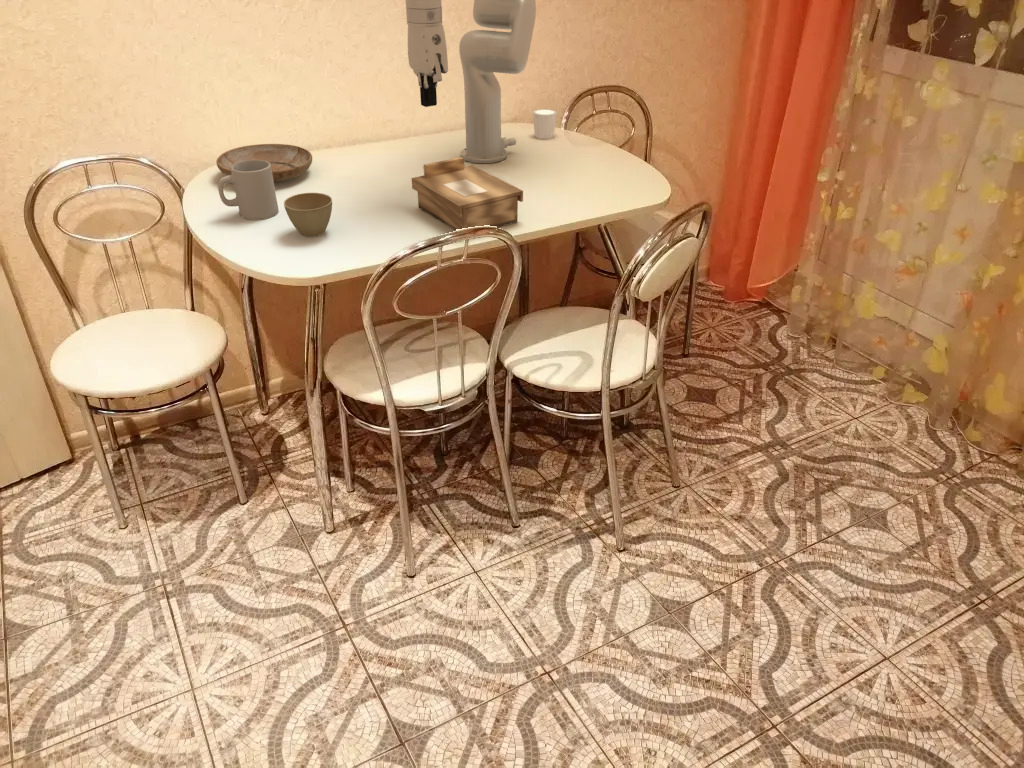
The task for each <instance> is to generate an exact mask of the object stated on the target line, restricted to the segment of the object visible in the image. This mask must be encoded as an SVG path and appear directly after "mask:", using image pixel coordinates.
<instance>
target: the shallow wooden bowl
mask: <svg viewBox="0 0 1024 768" xmlns="http://www.w3.org/2000/svg"><path fill="white" fill-rule="evenodd" d="M246 160H264V161H267V162H269V163H270V165H271V170H272V176H273V182H274V184H275V183H279V182H284V181H288V180H291V179H294V178H297V177H298V176H301V175H303V174H304V173H306V171H307V170H309V168H310V167H311V165H312V163H313V154H312V152H310V150H308V149H306V148H303V147H302V146H299V145H298V146H297V145H293V144H285V143H261V144H251V145H250V144H249V145H243V146H238V147H235V148H232V149H230V150H227V151H225V152H223V153H221V154H220V155H219V156H218V157H216V161H215V162H216V166H217V169H218V170H219V171H220V172H221V173H222V174H223V175H224V176H228V175H231V174H232V172H231V167H232V165H234V164H235V163H238V162H241V161H246Z"/></svg>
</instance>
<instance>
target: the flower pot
mask: <svg viewBox="0 0 1024 768" xmlns="http://www.w3.org/2000/svg"><path fill="white" fill-rule="evenodd" d="M283 207H284V210H285V212H286V215H287V217H288V219H289V221H290V222H291V224H292V225H293V226H294V228H295V229H296V230H297V232H298V233H299V234H300V235H301V236H303V237H306V238H315V237H316V238H317V237H319V236H322V235H324V234H325V232H326V230H327V228H328V225H329V222H330V219H331V216H332V210H333V198H332V197H331V196H330V195H329V194H326V193H321V192H304V193H303V192H302V193H297V194H293V195H291V196H289V197H287V198H286V199H284V201H283Z"/></svg>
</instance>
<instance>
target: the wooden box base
mask: <svg viewBox="0 0 1024 768" xmlns="http://www.w3.org/2000/svg"><path fill="white" fill-rule="evenodd" d="M417 203H418V204H417V206H418V208H419V209H420V210H422V211H423V212H425V213H426V214H428V215H430V216H432V217H433V218H434V219H436V220H437V221H439V222H441V223H442V224H444V225H445V226H447V227H449V228H450V229H452V230H453V231H455V230H456V229H462V228H468V227H475V226H484V225H490V226H497V228H500V227H503V226H507V225H511V224H515V223H518V215H519V214H518V210H519V209H518V208H519V201H518V196H514V197H510V198H506V199H502V200H498V201H493V202H489V203H485V204H481V205H477V206H473V207H469V208H465V209H462V217H459V216H457V215H456V214H454V213H452V212H451V211H449V210H447V209H446V208H444V207H442V206H441V205H439V204H437V203H436V202H434V201H432V200H431V199H429V198H427V197H426V196H424V195H422V194H421V193H419V192H417Z"/></svg>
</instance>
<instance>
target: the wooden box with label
mask: <svg viewBox="0 0 1024 768" xmlns="http://www.w3.org/2000/svg"><path fill="white" fill-rule="evenodd" d="M410 179H411V188H412V190H414V191H416V192H417V193H418V192H419V193H421V194H422V195H424V196H426V197H427V198H429V199H431V200H432V201H434V202H436V203H437V204H439V205H441V206H442V207H444V208H446V209H447V210H449V211H451V212H452V213H454V214H456V215H457V216H459V217H462V209H465V208H469V207H473V206H477V205H481V204H485V203H489V202H493V201H498V200H502V199H506V198H510V197H514V196H518V202H519V203H521V202H523V201H524V191H523V189H520V188H518V187H516V186H514V185H513V184H510V183H508V182H506V181H505V180H503V179H501V178H499V177H496V176H494V175H492V174H490V173H489V172H486V171H485V170H483V169H482V168H481V169H480V168H479V167H476V166H475V165H472V164H470V165H467V166H465V160H464V158H462V157H461V156H460V157H455V158H450V159H445V160H444V159H443V160H440V161H436V162H430V163H429V162H428V163H425V164H423V175H420V176H415V177H411V178H410Z"/></svg>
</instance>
